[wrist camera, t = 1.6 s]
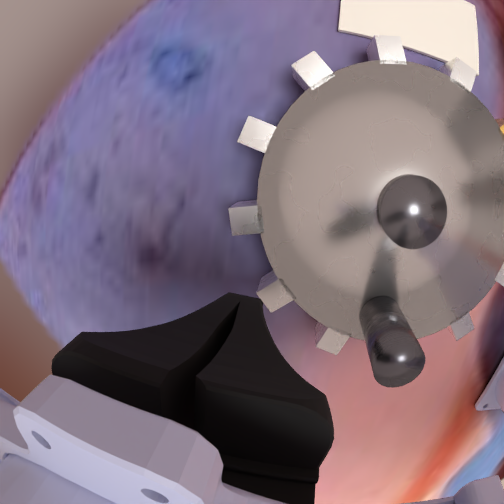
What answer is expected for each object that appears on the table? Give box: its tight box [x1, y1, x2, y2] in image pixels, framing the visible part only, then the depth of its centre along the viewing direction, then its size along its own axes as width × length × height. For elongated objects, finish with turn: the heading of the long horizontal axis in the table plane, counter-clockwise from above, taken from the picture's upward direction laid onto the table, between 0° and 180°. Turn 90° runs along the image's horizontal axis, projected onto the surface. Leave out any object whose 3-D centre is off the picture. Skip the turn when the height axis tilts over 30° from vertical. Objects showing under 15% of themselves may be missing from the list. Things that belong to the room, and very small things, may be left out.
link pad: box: [338, 0, 479, 76], centre depth 11 cm, size 8×5×1 cm, turn 82°
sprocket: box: [228, 35, 504, 387], centre depth 11 cm, size 15×15×6 cm
